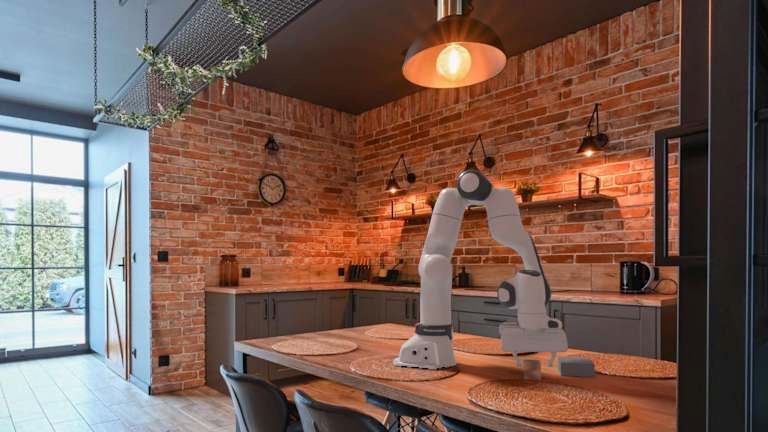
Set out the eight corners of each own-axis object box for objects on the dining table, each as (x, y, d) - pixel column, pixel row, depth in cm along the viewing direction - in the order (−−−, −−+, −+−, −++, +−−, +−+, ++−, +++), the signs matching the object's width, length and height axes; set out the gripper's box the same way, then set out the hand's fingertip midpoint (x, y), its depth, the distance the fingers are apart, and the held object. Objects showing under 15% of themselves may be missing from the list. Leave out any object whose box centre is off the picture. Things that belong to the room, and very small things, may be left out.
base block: (561, 375, 154) (560, 362, 155) (557, 368, 164) (557, 356, 164) (595, 377, 152) (594, 364, 152) (589, 369, 162) (589, 357, 162)
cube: (524, 379, 151) (523, 362, 151) (523, 375, 156) (523, 359, 156) (541, 380, 150) (540, 363, 150) (540, 376, 154) (539, 360, 155)
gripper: (498, 322, 154) (500, 367, 152) (567, 322, 149) (570, 369, 148) (498, 320, 160) (500, 363, 159) (564, 320, 156) (566, 364, 154)
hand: (534, 366), depth 153 cm, fingers open, 8 cm apart
